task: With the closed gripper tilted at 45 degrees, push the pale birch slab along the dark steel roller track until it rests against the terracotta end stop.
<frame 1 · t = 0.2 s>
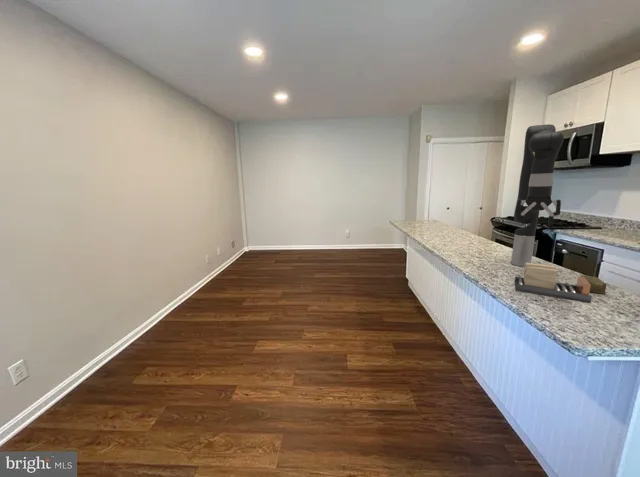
hand: (535, 224, 114), 29 cm above the countertop, tool pointing down, fingers open, 8 cm apart
stone block: (591, 289, 121), on the countertop
birch slab: (539, 275, 119), point 7 cm above the countertop, slide at 0.0 cm
roller track: (548, 291, 118), on the countertop
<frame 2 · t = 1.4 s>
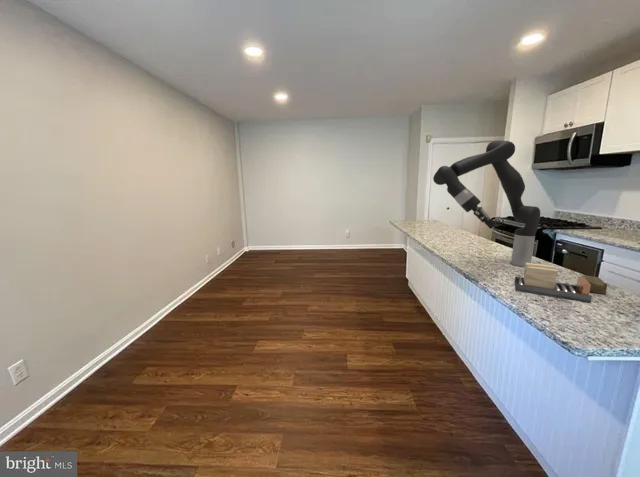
hand: (492, 226, 127), 26 cm above the countertop, tool tilted 45°, fingers open, 6 cm apart
nothing on the countertop moved.
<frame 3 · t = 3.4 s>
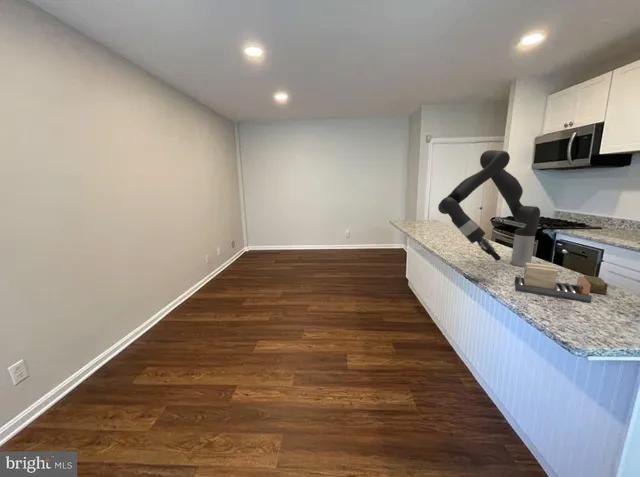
hand: (499, 259, 127), 12 cm above the countertop, tool tilted 45°, fingers closed
nothing on the countertop moved.
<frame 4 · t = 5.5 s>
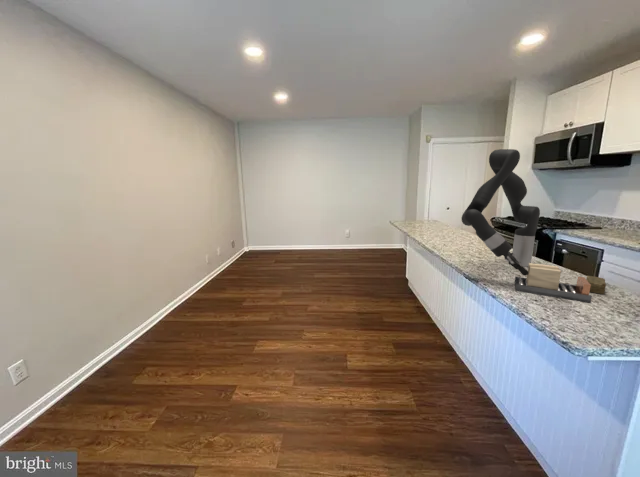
hand: (526, 274, 122), 6 cm above the countertop, tool tilted 45°, fingers closed
birch slab: (542, 275, 119), point 7 cm above the countertop, slide at 1.1 cm, touching gripper
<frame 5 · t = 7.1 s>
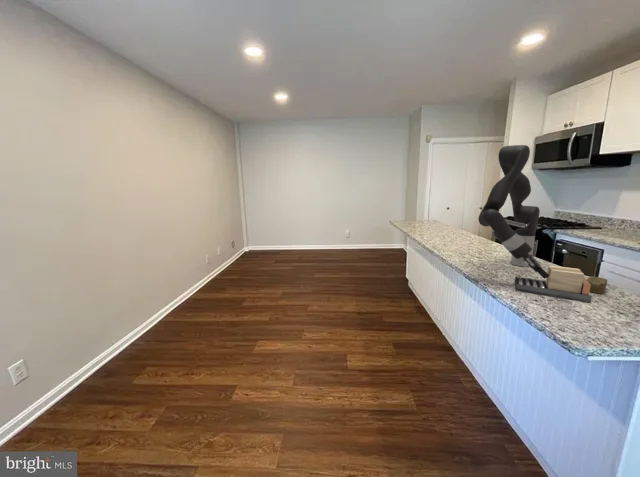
hand: (546, 277, 118), 6 cm above the countertop, tool tilted 45°, fingers closed
birch slab: (563, 278, 115), point 7 cm above the countertop, slide at 8.0 cm, touching gripper
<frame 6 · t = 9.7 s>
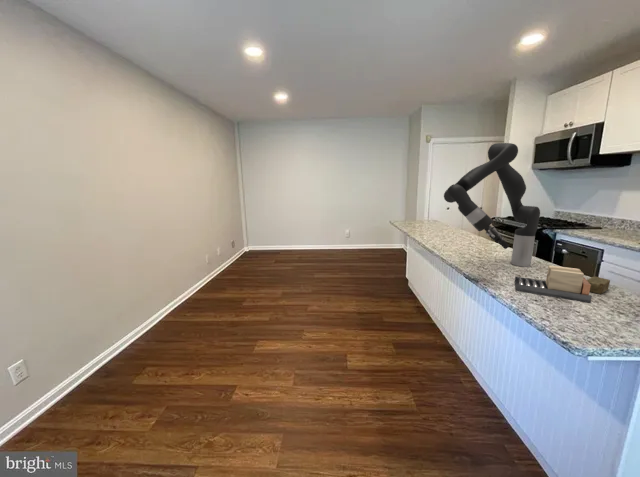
hand: (507, 247, 124), 18 cm above the countertop, tool tilted 45°, fingers closed
birch slab: (563, 278, 115), point 7 cm above the countertop, slide at 8.0 cm
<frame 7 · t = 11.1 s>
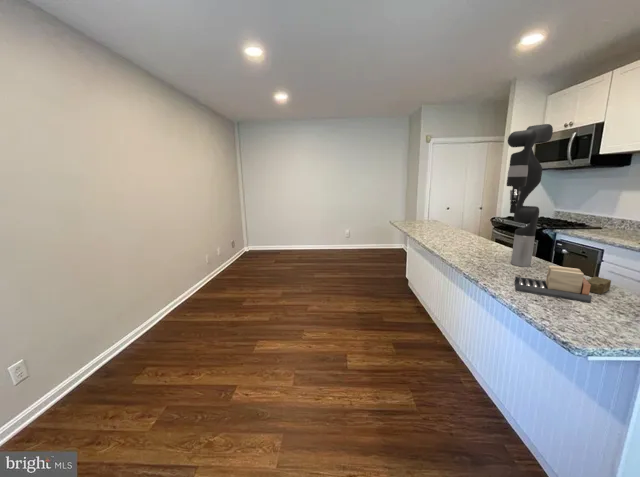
hand: (512, 212, 131), 32 cm above the countertop, tool pointing down, fingers closed
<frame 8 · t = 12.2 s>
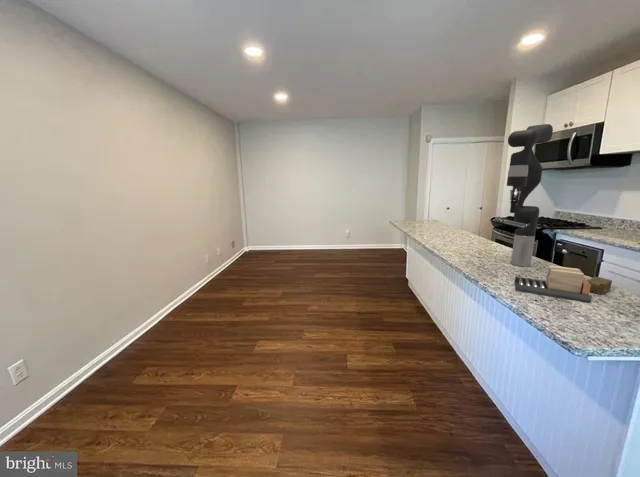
hand: (512, 212, 131), 32 cm above the countertop, tool pointing down, fingers closed
at the end: birch slab slide at 8.0 cm; stone block moved 2.0 cm from its start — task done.
